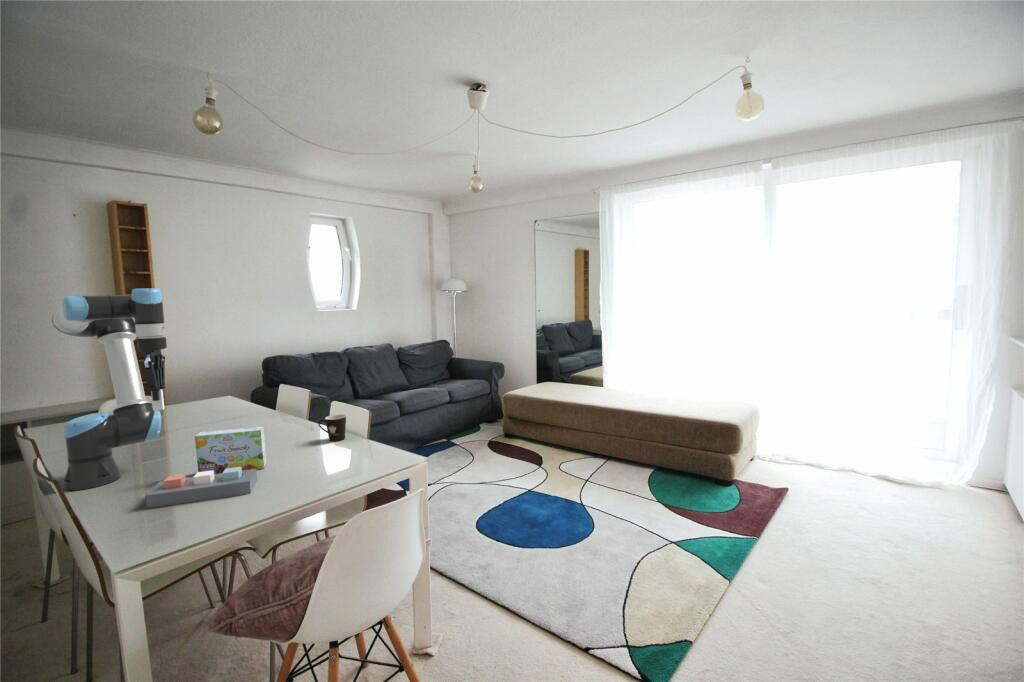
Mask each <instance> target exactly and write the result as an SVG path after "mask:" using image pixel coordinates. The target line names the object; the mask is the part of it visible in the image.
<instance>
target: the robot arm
mask: <svg viewBox="0 0 1024 682" xmlns="http://www.w3.org/2000/svg"><path fill="white" fill-rule="evenodd" d="M163 301H164V299H163V296H162V290H161V289H160V288H157V287H155V288H152V287H151V288H143V287H142V288H133V289H132V290H131V294H116V295H115V294H114V295H111V294H110V295H109V294H108V295H73V296H71V295H69V296H65V297H63V298H62V307H61V308H58V309H57V310H56V311H54V313H53V315H52V318H51V323H52V325H53V327H54V329H55V330H57V332H60V333H62V334H64V335H67V336H72V337H77V338H87V337H88V338H90V337H91V338H92V337H93V338H94V337H95V338H97V342H98V343H100V344H102V345H104V350H105V354H106V358H107V363H108V367H109V368H108V369H109V373H110V377H111V382H112V386H113V392H114V397H115V402H116V406H115V407H114V409H112V413H113V414H112V415H109V414H108V413H107V412H104V411H103V412H102V411H100V412H95V413H89V414H85V415H82V416H79V417H76V418H73V419H71V420H69V421H67V422H66V423H65V425H64V428H63V430H64V431H63V432H64V434H63V435H64V436H63V438H64V439H65V446H66V447H65V448H66V456H67V464H68V466H67V469H66V471H65V472H66V473H65V476H64V479H63V487H64V489H65V490H66V491H80V490H86V489H87V490H88V489H93V488H97V487H101V486H104V485H107V484H110V483H113V482H115V481H117V480H119V479H120V478H121V477H122V472H121V471H122V470H121V469H120V467H119V465H118V463H117V462H116V460H115V458H114V457H113V451H112V449H114V448H119V447H125V446H129V445H134V444H138V443H139V444H140V443H145V442H148V441H152V440H155V439H157V438H158V437H159V435H160V433H161V429H162V414H161V411H164V410H165V399H164V392H163V389H166V388H167V387H166V382H165V381H166V379H165V378H166V375H165V374H166V373H165V369H166V368H165V367H166V365H165V361H166V356H164V355H163V354H162V350H164V349H167V347H168V344H167V337H165V335H166V330H167V328H168V327H167V326H166V325H165V316H164V305H163V304H164V303H163ZM135 340H136V347H137V350H138V351H144V355H143V361H141V367H142V368H143V369H142V370H143V372H144V373H143V374H144V378H145V383H146V387H147V389H146V390H147V391H146V392H150V395H151V396H150V397H151V401H149V400H147V398H146V394H145V390H144V389H145V388H144V384H143V380H142V376H141V375H142V374H141V371H140V365H139V363H138V362H139V361H138V357H137V352H136V348H135V344H134V341H135Z"/></svg>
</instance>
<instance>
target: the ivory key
mask: <svg viewBox="0 0 1024 682" xmlns="http://www.w3.org/2000/svg"><path fill="white" fill-rule="evenodd" d="M192 477H193V480H194V485H200V484H208V483H212V482H213V481H214V479H215V477H214V470H211V471H204V472H198V471H197V472H196V474H195V475H194V476H192Z"/></svg>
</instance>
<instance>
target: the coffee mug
mask: <svg viewBox="0 0 1024 682" xmlns="http://www.w3.org/2000/svg"><path fill="white" fill-rule="evenodd" d="M321 422H325V426H326V429H325V428H323V427H322V426H321ZM346 423H347V415H346V414H333V415H328V416H326V417H325V418H324V419H320V420H319V421H318V427H319V428H320V429H321V430H322V431H324V432H325V433H327V436H328V440H329V442H334V443H335V442H336V443H337V442H341V441H344V440H346V427H347V425H346Z"/></svg>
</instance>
